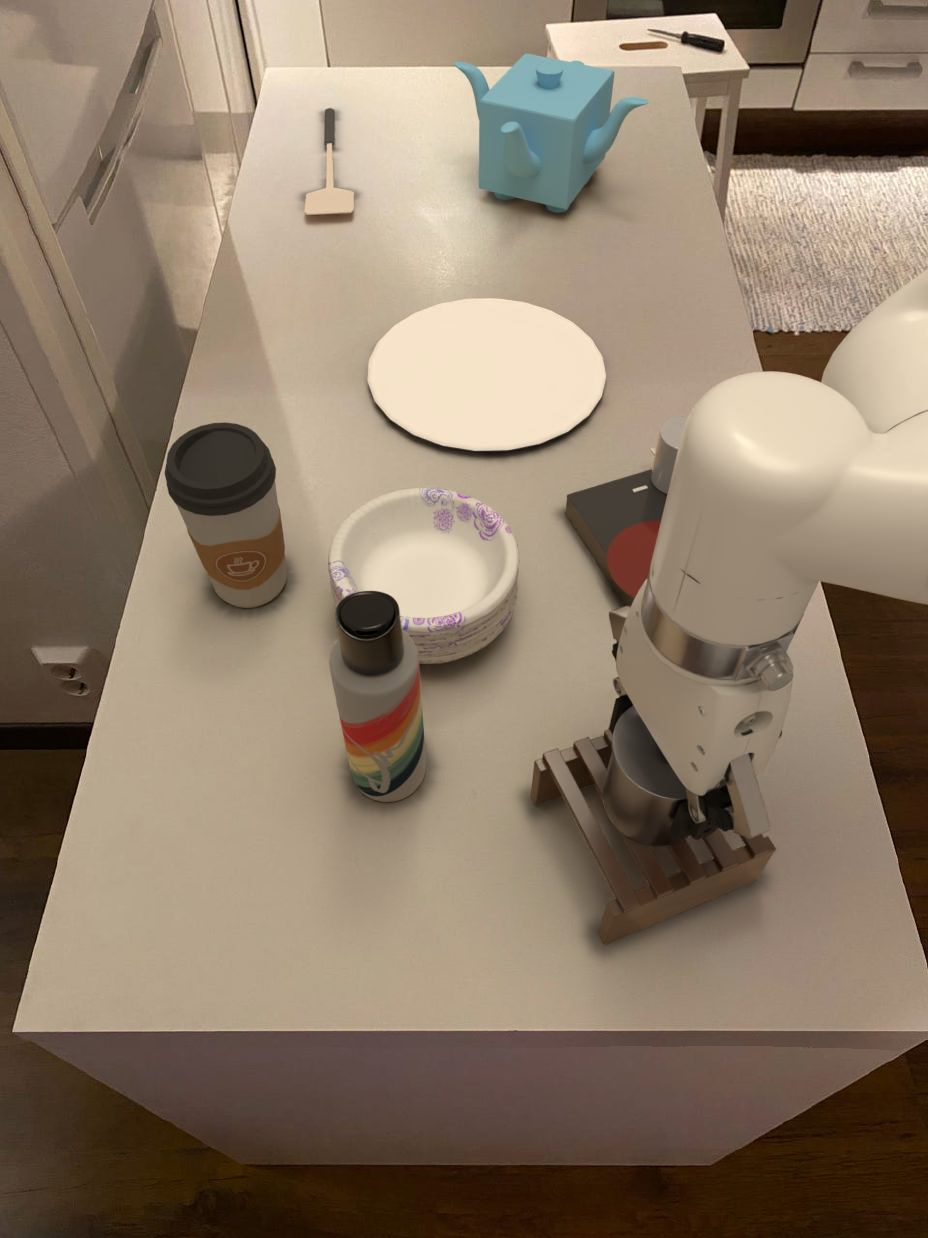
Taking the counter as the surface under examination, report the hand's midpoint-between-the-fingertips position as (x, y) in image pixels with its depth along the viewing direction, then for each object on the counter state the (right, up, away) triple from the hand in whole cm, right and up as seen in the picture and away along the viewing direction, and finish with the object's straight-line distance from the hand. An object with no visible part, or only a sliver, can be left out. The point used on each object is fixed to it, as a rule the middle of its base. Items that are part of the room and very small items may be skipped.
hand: (661, 775), depth 61 cm
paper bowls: (-16, +10, +20) cm, 28 cm away
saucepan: (+2, -1, +3) cm, 4 cm away
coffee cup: (-31, +13, +22) cm, 41 cm away
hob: (+6, +18, +25) cm, 31 cm away
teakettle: (-3, +65, +62) cm, 90 cm away
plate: (-10, +36, +39) cm, 54 cm away
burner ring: (+4, +15, +20) cm, 25 cm away
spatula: (-31, +71, +66) cm, 101 cm away
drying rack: (0, -6, +8) cm, 9 cm away
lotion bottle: (-18, -1, +11) cm, 21 cm away
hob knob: (+7, +23, +26) cm, 35 cm away
